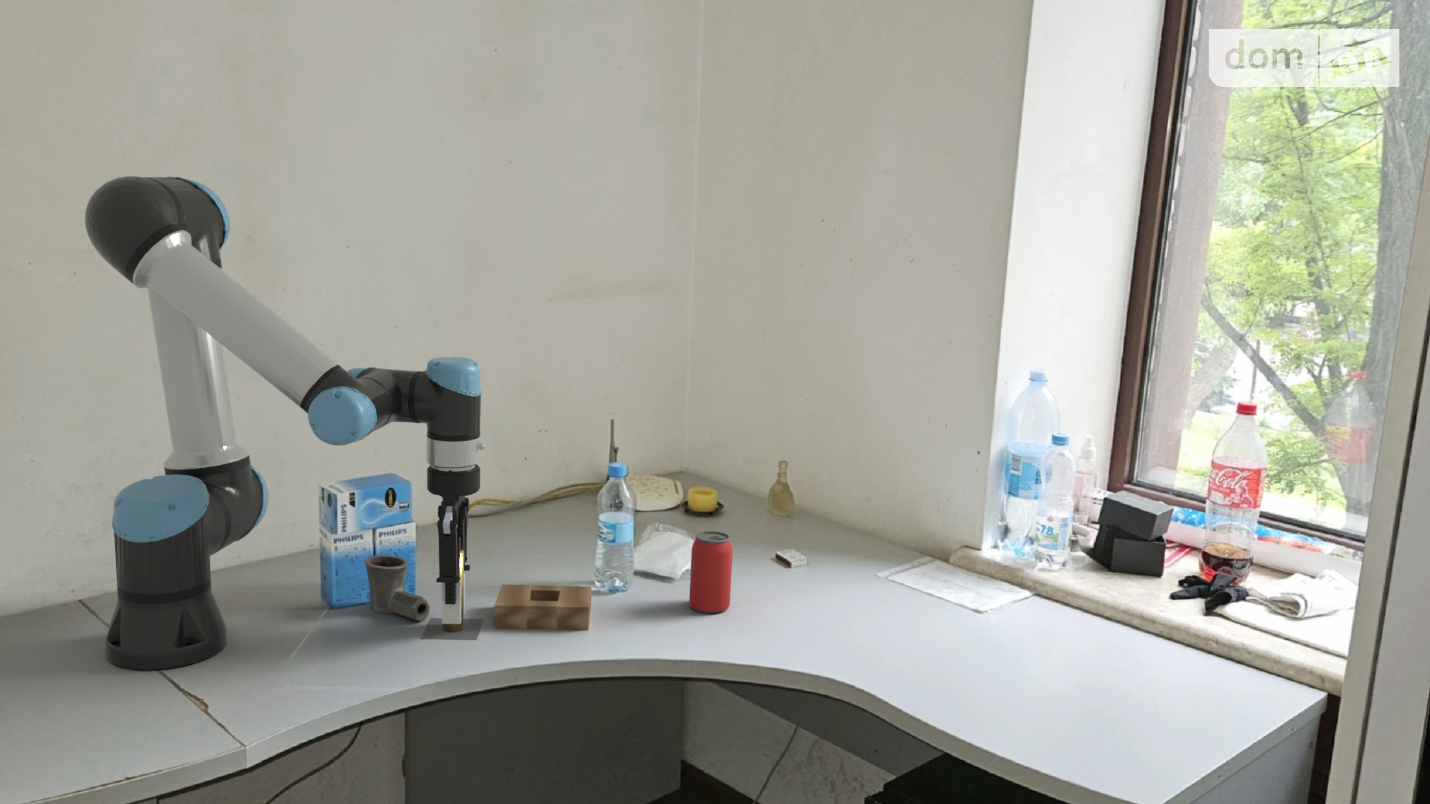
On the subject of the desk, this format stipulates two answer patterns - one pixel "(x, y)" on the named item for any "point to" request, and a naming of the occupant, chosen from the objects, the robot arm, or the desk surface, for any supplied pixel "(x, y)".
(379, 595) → the pipe
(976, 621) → the desk surface
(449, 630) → the pin
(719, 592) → the beer can
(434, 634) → the mat
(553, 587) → the socket block
